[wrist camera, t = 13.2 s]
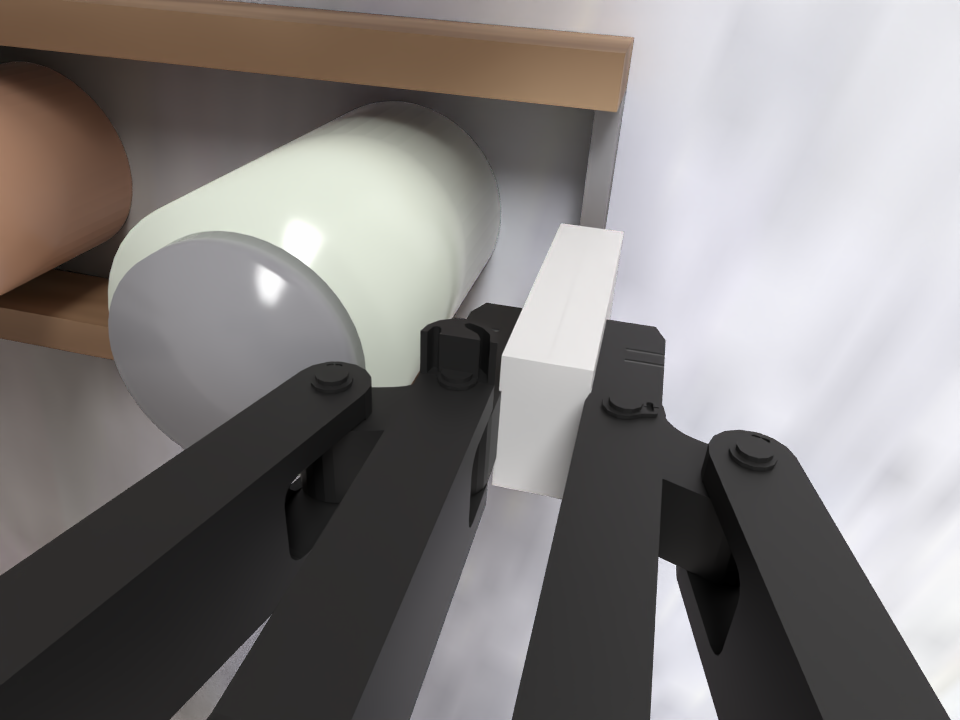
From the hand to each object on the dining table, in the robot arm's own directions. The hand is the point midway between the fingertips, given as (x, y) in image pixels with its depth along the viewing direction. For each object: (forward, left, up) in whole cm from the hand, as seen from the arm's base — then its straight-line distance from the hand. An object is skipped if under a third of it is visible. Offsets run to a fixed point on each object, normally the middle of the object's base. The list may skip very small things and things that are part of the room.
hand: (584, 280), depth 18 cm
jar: (0, -6, -3) cm, 7 cm away
